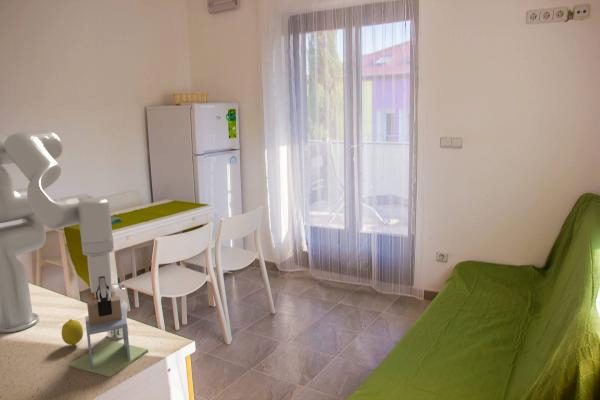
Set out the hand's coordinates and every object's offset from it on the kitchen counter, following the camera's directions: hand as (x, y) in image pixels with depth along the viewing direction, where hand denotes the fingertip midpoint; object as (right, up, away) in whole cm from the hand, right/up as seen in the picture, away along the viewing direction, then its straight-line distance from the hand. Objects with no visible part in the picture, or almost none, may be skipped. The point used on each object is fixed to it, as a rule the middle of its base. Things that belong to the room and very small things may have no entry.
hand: (104, 308), depth 128 cm
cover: (0, -14, +3) cm, 14 cm away
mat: (0, -14, +3) cm, 15 cm away
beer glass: (-2, -12, +16) cm, 20 cm away
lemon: (-13, -13, +11) cm, 21 cm away
